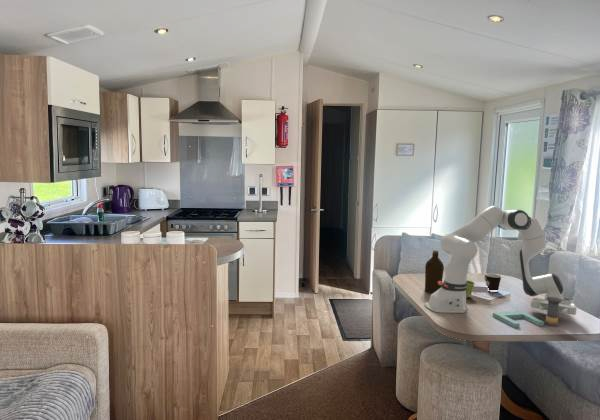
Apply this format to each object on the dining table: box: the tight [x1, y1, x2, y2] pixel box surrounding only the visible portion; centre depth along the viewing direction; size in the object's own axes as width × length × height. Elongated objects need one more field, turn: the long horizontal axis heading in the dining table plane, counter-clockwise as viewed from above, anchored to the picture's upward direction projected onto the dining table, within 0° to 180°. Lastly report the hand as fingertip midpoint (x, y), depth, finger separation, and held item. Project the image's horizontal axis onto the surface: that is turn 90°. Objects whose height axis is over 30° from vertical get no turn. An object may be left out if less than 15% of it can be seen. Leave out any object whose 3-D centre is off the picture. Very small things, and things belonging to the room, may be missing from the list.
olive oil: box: [424, 249, 445, 294], centre depth 275 cm, size 11×11×25 cm
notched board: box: [492, 310, 545, 329], centre depth 231 cm, size 17×16×2 cm
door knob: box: [543, 297, 561, 328], centre depth 227 cm, size 6×6×13 cm
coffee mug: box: [484, 273, 502, 291], centre depth 282 cm, size 12×9×10 cm
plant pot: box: [466, 280, 476, 299], centre depth 268 cm, size 9×9×9 cm
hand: (552, 310), depth 226 cm, fingers open, 8 cm apart
